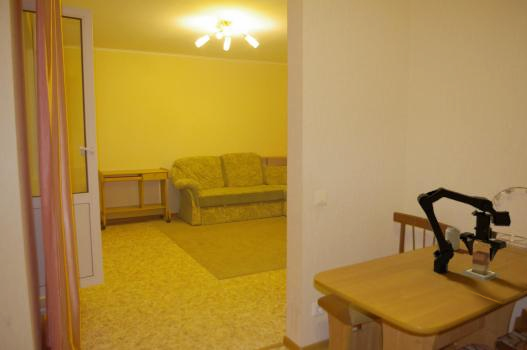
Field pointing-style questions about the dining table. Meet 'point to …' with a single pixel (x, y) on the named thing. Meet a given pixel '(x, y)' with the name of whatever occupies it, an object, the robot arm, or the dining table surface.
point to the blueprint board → (484, 278)
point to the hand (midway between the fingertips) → (481, 258)
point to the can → (453, 237)
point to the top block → (481, 258)
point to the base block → (480, 269)
